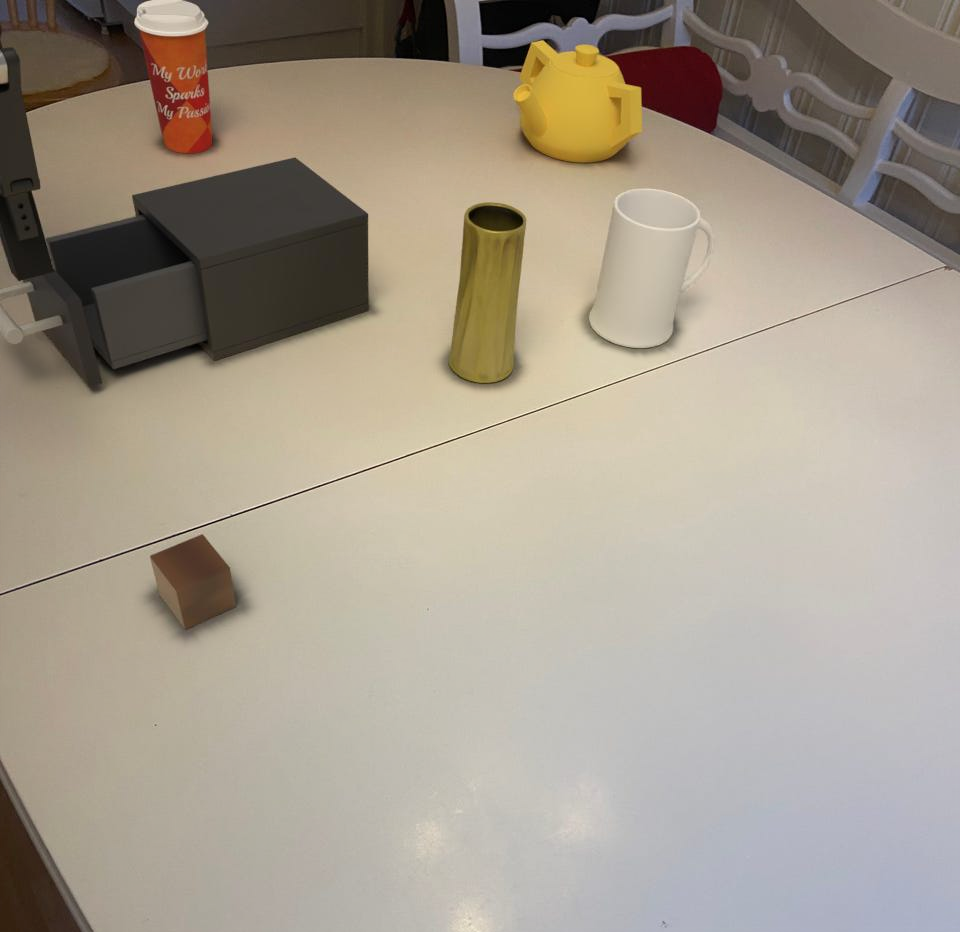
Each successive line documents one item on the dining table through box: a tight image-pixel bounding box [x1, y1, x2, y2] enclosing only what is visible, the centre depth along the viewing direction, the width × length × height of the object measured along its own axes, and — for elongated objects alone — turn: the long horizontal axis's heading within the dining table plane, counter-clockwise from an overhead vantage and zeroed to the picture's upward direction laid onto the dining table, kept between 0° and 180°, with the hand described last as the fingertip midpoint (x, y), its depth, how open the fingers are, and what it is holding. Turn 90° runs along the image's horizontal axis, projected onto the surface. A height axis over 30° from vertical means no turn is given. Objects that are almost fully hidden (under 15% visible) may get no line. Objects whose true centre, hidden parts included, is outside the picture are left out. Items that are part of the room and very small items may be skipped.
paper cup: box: [134, 0, 213, 154], centre depth 109 cm, size 8×8×14 cm
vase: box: [448, 201, 527, 384], centre depth 85 cm, size 6×6×14 cm
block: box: [149, 533, 237, 630], centre depth 67 cm, size 4×4×4 cm
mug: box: [588, 187, 716, 349], centre depth 93 cm, size 12×8×12 cm
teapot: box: [513, 39, 643, 164], centre depth 119 cm, size 20×18×11 cm
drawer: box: [0, 215, 207, 388], centre depth 84 cm, size 20×12×8 cm, turn 128°
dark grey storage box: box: [131, 157, 370, 362], centre depth 90 cm, size 17×13×10 cm
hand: (32, 271), depth 72 cm, fingers closed
